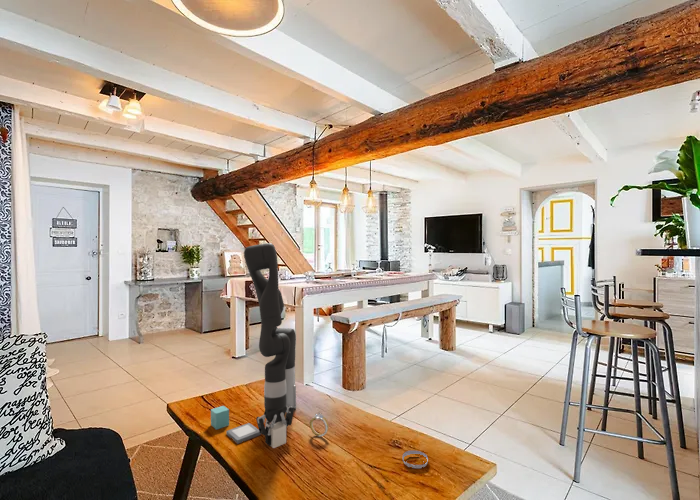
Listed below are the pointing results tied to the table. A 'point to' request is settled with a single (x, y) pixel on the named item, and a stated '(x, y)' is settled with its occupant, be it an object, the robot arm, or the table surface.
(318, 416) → the ring
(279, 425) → the cream brick
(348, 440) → the table surface
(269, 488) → the table surface
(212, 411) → the teal brick
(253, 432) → the baseplate
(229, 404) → the table surface
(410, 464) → the gray circular band
